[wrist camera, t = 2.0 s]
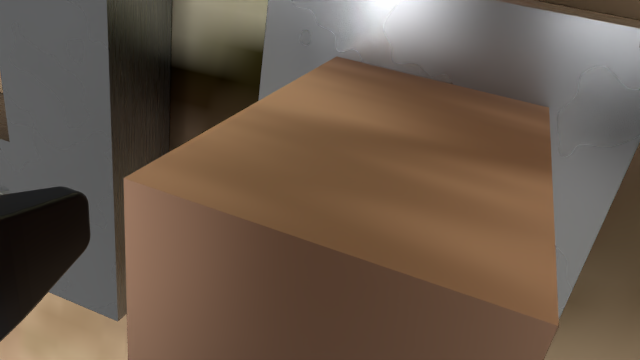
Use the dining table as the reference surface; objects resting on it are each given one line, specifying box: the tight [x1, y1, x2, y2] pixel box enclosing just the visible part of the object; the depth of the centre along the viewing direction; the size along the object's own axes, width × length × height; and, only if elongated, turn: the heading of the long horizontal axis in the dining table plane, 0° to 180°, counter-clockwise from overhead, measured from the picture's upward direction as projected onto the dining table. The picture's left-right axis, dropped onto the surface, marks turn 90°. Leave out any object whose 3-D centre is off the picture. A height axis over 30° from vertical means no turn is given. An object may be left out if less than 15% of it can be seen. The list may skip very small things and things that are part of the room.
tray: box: [259, 0, 640, 318], centre depth 13 cm, size 8×8×2 cm
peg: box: [123, 56, 559, 360], centre depth 9 cm, size 4×4×7 cm
